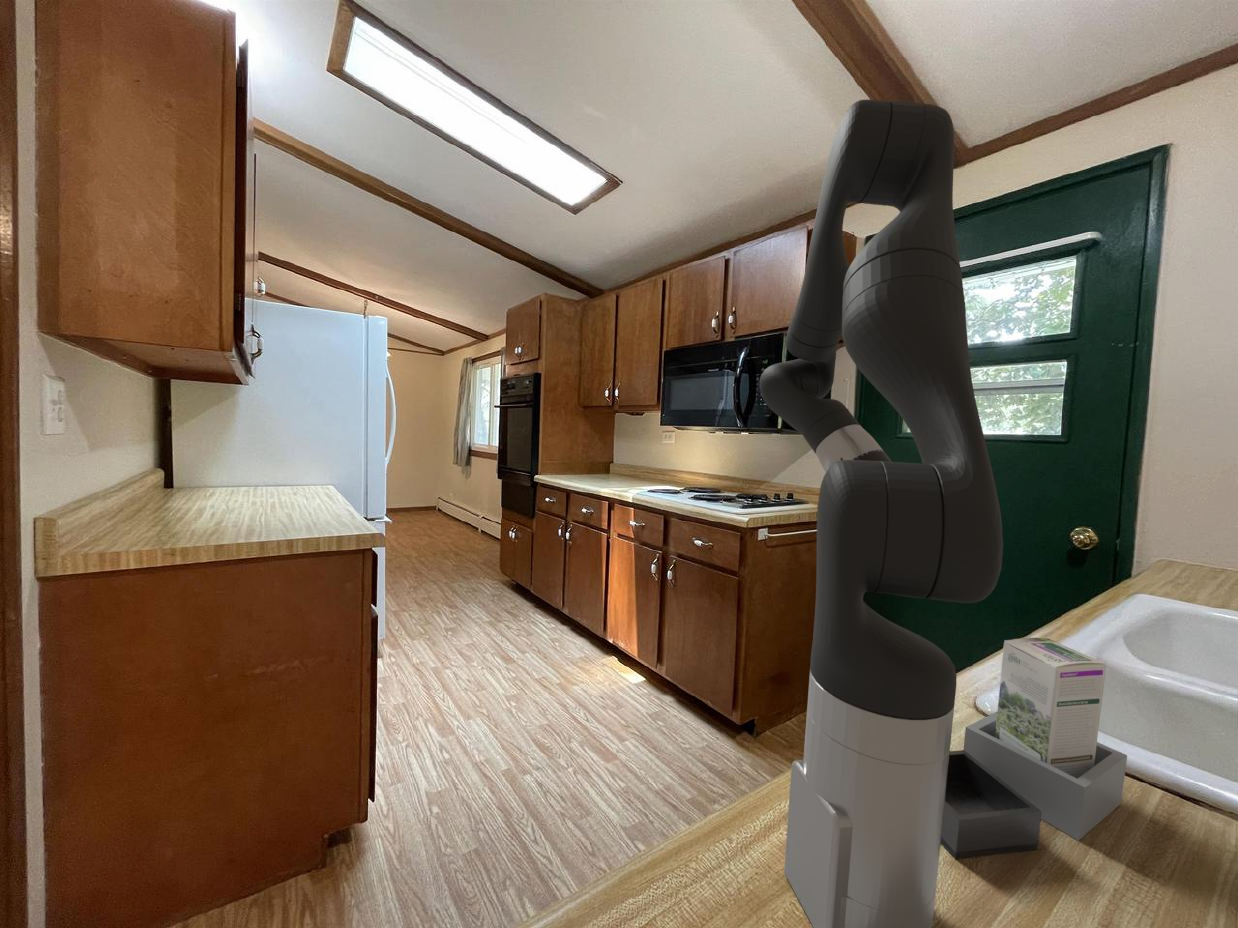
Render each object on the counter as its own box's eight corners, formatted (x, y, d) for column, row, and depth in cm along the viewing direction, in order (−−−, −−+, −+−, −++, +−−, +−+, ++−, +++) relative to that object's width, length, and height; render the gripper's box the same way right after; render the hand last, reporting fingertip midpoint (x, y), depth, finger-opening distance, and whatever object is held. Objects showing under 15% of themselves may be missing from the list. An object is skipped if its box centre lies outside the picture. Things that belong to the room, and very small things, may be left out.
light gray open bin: (1078, 840, 44) (1085, 787, 44) (961, 772, 53) (965, 726, 52) (1120, 803, 49) (1127, 755, 48) (1006, 746, 57) (1011, 704, 57)
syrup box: (1093, 806, 48) (1111, 662, 47) (1040, 811, 47) (1057, 664, 46) (1036, 766, 54) (1051, 636, 53) (987, 770, 53) (1001, 637, 52)
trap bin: (955, 858, 42) (959, 819, 42) (889, 788, 50) (892, 755, 49) (1037, 849, 43) (1041, 811, 43) (960, 782, 51) (963, 749, 51)
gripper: (840, 448, 62) (926, 563, 53) (909, 447, 69) (995, 550, 60) (803, 484, 67) (875, 595, 58) (870, 481, 74) (944, 580, 65)
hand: (936, 572), depth 59 cm, fingers open, 8 cm apart
